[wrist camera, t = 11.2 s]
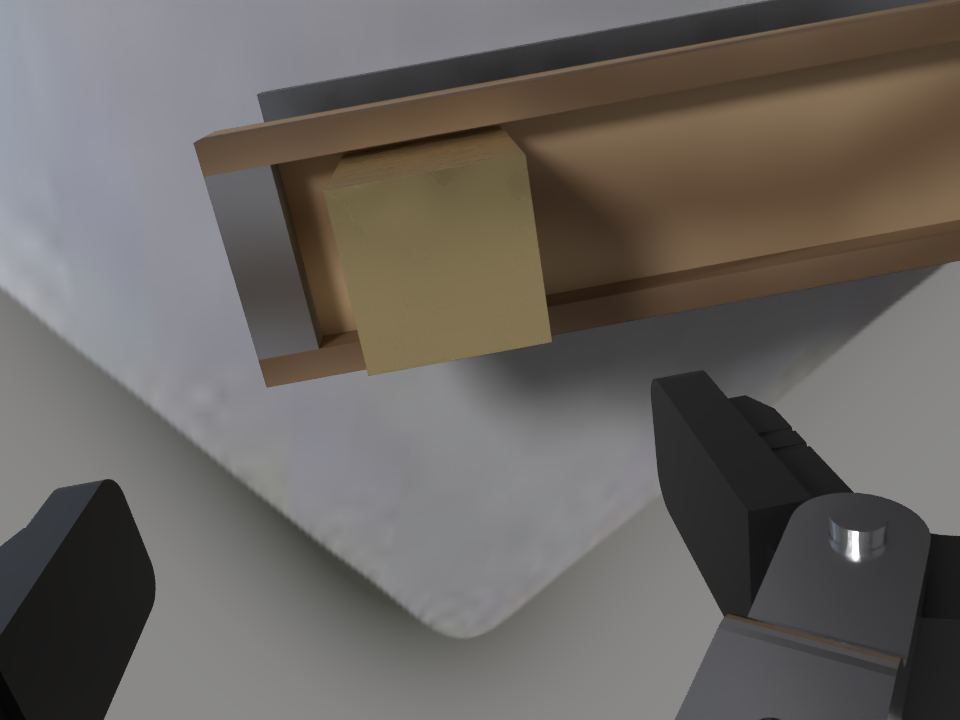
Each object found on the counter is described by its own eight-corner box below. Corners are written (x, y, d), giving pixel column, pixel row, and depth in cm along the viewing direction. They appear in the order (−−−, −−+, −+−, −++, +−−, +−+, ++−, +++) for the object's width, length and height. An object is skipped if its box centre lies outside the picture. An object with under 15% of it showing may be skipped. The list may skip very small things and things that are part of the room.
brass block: (343, 154, 25) (323, 191, 20) (501, 126, 25) (525, 154, 20) (377, 304, 27) (368, 375, 22) (523, 277, 27) (551, 342, 22)
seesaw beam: (215, 131, 26) (193, 143, 24) (1121, -33, 26) (1198, -40, 24) (279, 355, 29) (266, 387, 27) (1089, 207, 29) (1154, 225, 27)
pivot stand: (261, 92, 35) (213, 114, 26) (935, -30, 35) (1108, -49, 27) (312, 287, 39) (284, 364, 30) (924, 174, 39) (1074, 217, 30)
